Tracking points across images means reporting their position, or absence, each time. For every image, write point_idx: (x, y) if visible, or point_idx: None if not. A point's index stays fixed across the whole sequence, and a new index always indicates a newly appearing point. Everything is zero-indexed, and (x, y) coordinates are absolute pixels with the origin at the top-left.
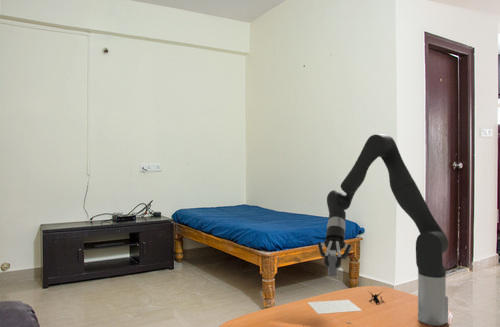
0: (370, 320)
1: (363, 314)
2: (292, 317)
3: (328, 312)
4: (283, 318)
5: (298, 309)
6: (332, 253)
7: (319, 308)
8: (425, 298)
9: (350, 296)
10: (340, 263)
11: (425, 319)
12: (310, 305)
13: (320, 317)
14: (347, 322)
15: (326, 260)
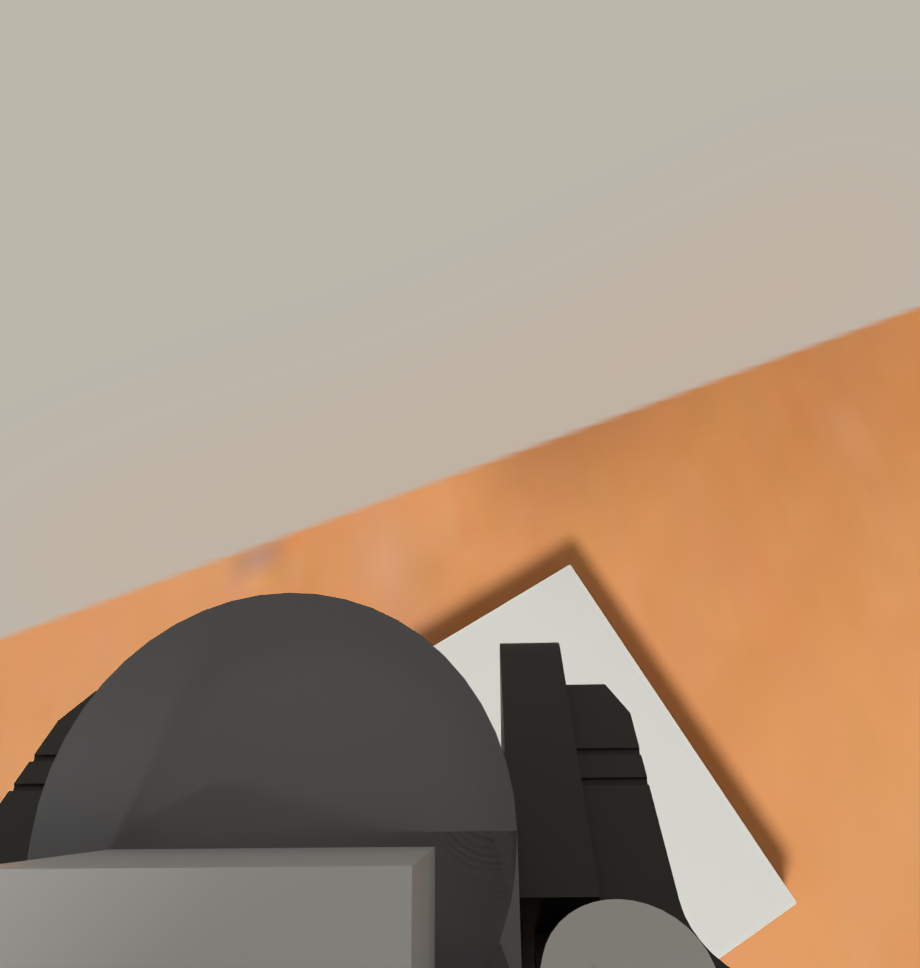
0: (31, 678)
1: None
2: (805, 470)
3: (467, 641)
4: (876, 417)
5: (833, 712)
6: (251, 855)
7: None
8: None
9: None
10: (53, 735)
11: None
12: (721, 795)
13: (540, 570)
14: (265, 543)
15: (558, 727)
